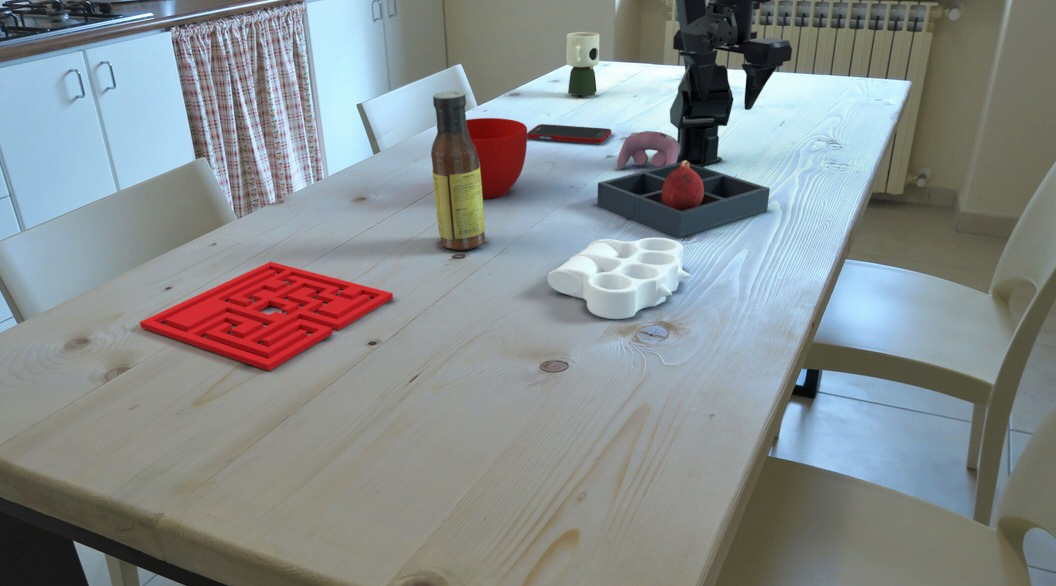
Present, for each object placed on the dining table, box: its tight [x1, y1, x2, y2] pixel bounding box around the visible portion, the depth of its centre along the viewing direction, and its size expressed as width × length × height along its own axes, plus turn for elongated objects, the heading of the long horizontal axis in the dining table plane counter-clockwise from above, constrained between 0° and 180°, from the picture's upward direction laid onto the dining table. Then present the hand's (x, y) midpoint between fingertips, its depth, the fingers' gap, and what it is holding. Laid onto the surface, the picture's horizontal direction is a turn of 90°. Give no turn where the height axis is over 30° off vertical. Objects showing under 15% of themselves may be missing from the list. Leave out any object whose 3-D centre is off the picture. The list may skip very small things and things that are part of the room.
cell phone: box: [527, 123, 612, 145], centre depth 166 cm, size 8×15×1 cm, turn 69°
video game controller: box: [616, 130, 680, 170], centre depth 147 cm, size 10×5×7 cm, turn 65°
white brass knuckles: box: [546, 237, 692, 320], centre depth 105 cm, size 3×18×15 cm
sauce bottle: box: [430, 90, 486, 251], centre depth 115 cm, size 7×6×20 cm
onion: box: [662, 160, 704, 211], centre depth 123 cm, size 6×6×8 cm
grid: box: [596, 162, 771, 239], centre depth 129 cm, size 17×17×4 cm
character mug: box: [566, 31, 600, 98], centre depth 194 cm, size 11×7×13 cm, turn 159°
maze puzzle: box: [139, 261, 394, 372], centre depth 101 cm, size 20×20×1 cm
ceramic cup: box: [466, 117, 528, 199], centre depth 135 cm, size 13×17×10 cm
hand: (724, 104), depth 135 cm, fingers open, 9 cm apart
